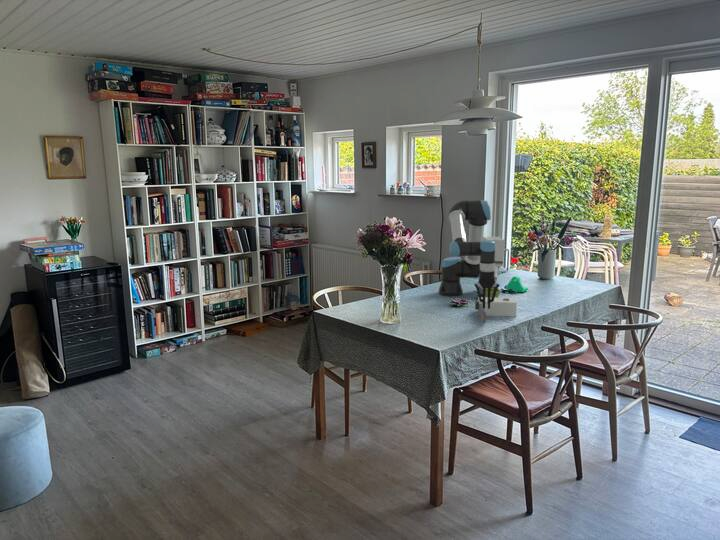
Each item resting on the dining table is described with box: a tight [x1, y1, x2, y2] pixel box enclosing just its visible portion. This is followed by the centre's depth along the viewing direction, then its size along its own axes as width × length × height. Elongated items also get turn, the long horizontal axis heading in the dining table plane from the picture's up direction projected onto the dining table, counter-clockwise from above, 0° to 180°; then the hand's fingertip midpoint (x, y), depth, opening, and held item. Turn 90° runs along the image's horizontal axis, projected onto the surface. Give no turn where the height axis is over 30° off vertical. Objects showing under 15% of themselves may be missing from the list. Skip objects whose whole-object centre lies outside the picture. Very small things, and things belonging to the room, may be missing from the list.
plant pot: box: [485, 288, 501, 298], centre depth 321 cm, size 9×9×9 cm
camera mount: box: [505, 275, 529, 293], centre depth 351 cm, size 12×8×10 cm, turn 46°
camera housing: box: [474, 296, 518, 318], centre depth 302 cm, size 22×10×9 cm, turn 81°
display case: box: [478, 235, 506, 294], centre depth 347 cm, size 11×11×35 cm
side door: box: [478, 304, 487, 324], centre depth 290 cm, size 17×2×6 cm, turn 176°
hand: (486, 314), depth 284 cm, fingers closed
